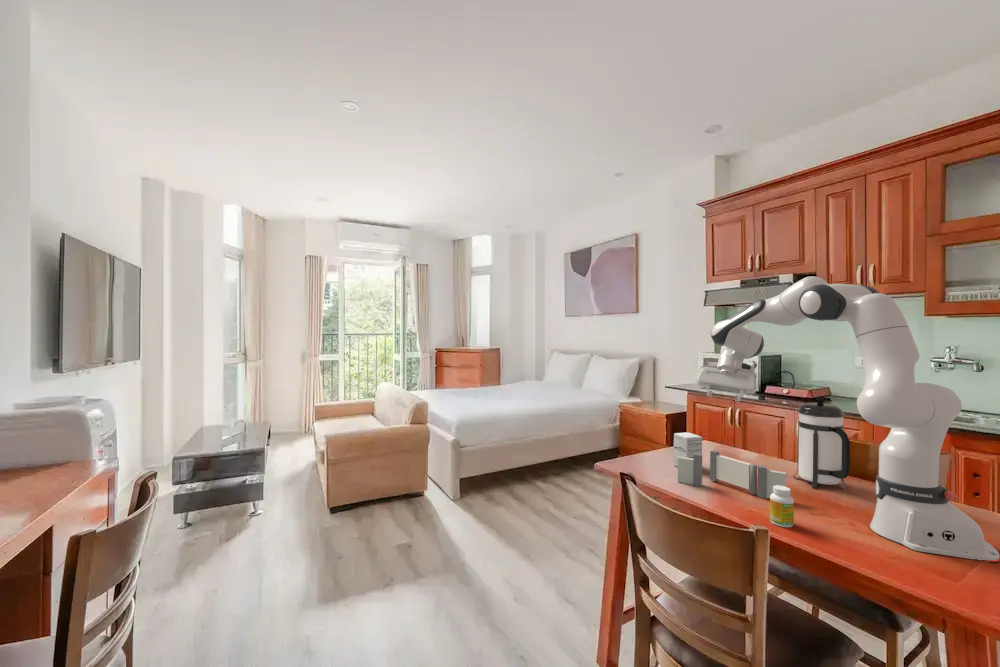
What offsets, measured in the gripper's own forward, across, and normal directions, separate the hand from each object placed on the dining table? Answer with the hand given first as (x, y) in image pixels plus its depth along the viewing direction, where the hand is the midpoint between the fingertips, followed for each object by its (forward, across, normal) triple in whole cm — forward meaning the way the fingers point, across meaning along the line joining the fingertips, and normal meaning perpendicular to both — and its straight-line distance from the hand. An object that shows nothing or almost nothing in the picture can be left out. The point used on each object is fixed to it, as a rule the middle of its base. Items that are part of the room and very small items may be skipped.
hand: (722, 398), depth 160 cm
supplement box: (+26, -9, +12) cm, 30 cm away
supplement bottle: (+45, +23, -18) cm, 53 cm away
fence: (+35, +8, -2) cm, 36 cm away
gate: (+32, +8, 0) cm, 33 cm away
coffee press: (+18, +33, +16) cm, 41 cm away
